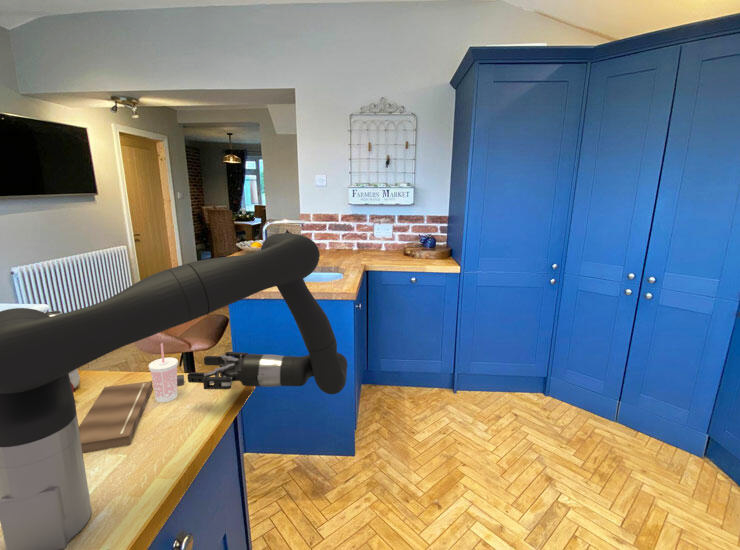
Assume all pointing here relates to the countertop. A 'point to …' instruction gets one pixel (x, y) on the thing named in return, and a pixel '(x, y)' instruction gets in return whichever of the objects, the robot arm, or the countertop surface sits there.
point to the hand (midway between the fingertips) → (196, 368)
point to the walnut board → (115, 415)
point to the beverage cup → (164, 377)
